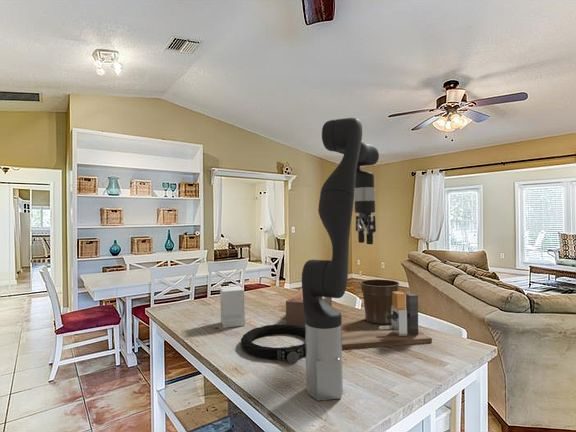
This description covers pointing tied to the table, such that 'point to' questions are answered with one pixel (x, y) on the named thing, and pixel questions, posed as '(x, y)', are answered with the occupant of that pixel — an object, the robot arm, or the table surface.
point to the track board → (389, 331)
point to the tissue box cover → (298, 309)
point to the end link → (398, 315)
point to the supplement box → (232, 306)
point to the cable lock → (274, 353)
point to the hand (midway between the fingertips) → (365, 243)
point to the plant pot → (378, 299)
